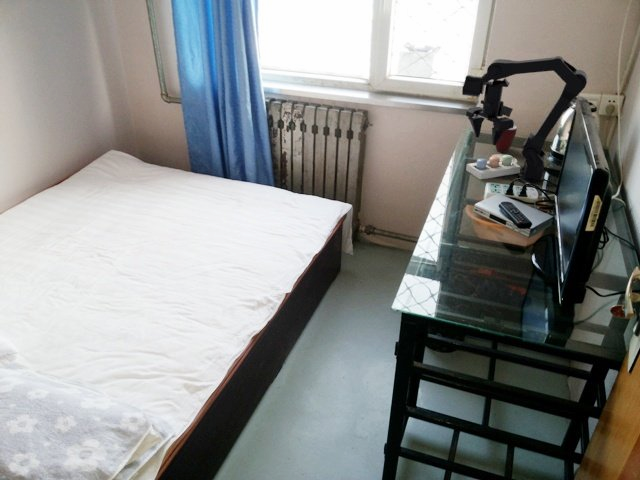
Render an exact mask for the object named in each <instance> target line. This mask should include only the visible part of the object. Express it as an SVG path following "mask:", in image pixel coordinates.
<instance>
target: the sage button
mask: <svg viewBox="0 0 640 480" xmlns="http://www.w3.org/2000/svg"><path fill="white" fill-rule="evenodd" d="M501 159H502V161H501V162H502V165H504V166H510V165H511V163H512V162H513V156H512V155H510V154H502V156H501Z"/></svg>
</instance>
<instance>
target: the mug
mask: <svg viewBox="0 0 640 480" xmlns="http://www.w3.org/2000/svg"><path fill="white" fill-rule="evenodd" d="M517 128H518V127H517V126H516V125H515V124H514V125H513V128H510V129H508V130H505V131H504V132H503V134H502V135H501V137H500V139H499V140H498V142H497V144H496V145H494V147H495V149H496V151H497V152H500V153H505V152H506V153H507V152H508V151H509V149H510V148H511V147H512V144H513V142H514V140H515V137H516V134H517V130H518V129H517Z"/></svg>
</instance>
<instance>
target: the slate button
mask: <svg viewBox="0 0 640 480" xmlns="http://www.w3.org/2000/svg"><path fill="white" fill-rule="evenodd" d="M487 161H488V160H487V159H486V158H477V160H476V162H475V163H476V169H478V170H485V169H486V166H487Z"/></svg>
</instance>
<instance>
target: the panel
mask: <svg viewBox="0 0 640 480" xmlns="http://www.w3.org/2000/svg"><path fill="white" fill-rule="evenodd" d="M476 163H477V162H472V163H471V162H469V163H466V167H465V168H466V169H465V170H466V171H467V172H468V173H469V174H471V175H472V176H474V177H475V178H477V179H479V180H485V179H491V178H497V177H503V176H509V175H515V174H520V172H521V166H520V165H519V164H517V163H514V162H513V161H512V165H510V166H504V165H502V164H499V167H497V168H491V167H489V160H487V166H486V169H485V170H478V169H476Z"/></svg>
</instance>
